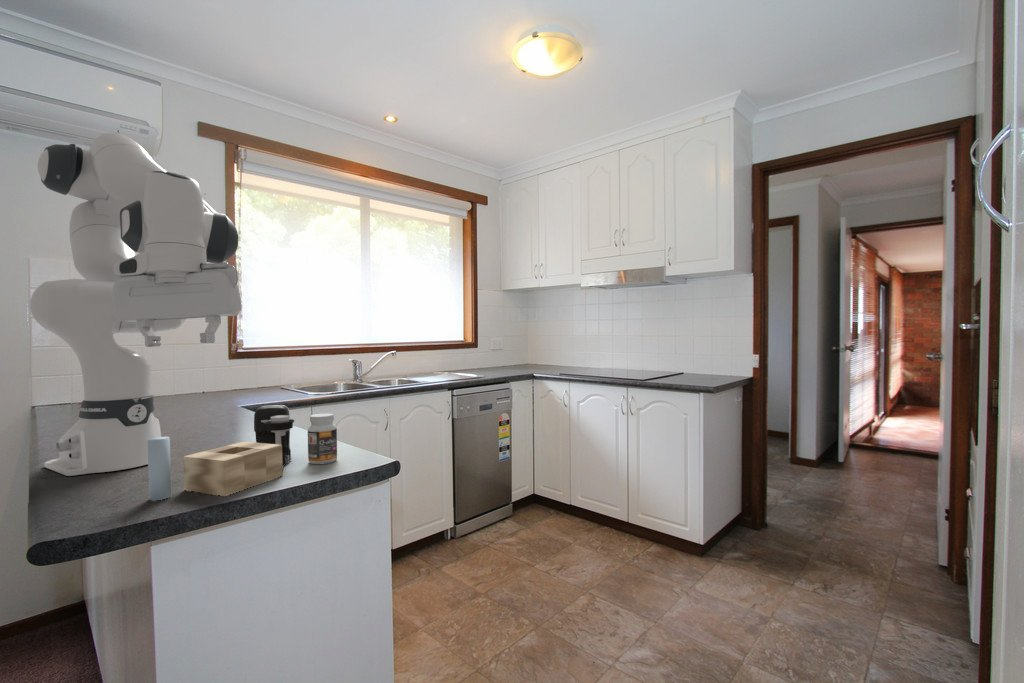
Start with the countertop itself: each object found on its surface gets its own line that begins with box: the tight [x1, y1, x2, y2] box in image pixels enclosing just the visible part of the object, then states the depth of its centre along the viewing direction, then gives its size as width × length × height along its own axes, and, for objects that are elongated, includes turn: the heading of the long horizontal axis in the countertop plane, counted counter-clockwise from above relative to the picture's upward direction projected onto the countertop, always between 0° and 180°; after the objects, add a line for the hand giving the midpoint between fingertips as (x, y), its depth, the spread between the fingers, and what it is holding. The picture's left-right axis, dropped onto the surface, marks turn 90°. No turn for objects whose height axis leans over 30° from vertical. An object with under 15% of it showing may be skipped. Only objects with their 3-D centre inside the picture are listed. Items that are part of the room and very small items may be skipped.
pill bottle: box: [307, 412, 338, 465], centre depth 102 cm, size 6×6×10 cm
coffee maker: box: [253, 404, 291, 449], centre depth 105 cm, size 7×4×11 cm, turn 107°
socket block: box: [182, 441, 284, 497], centre depth 88 cm, size 10×12×6 cm
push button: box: [266, 415, 295, 466], centre depth 100 cm, size 7×5×10 cm
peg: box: [147, 436, 172, 502], centre depth 80 cm, size 3×3×10 cm
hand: (180, 345), depth 83 cm, fingers open, 8 cm apart
